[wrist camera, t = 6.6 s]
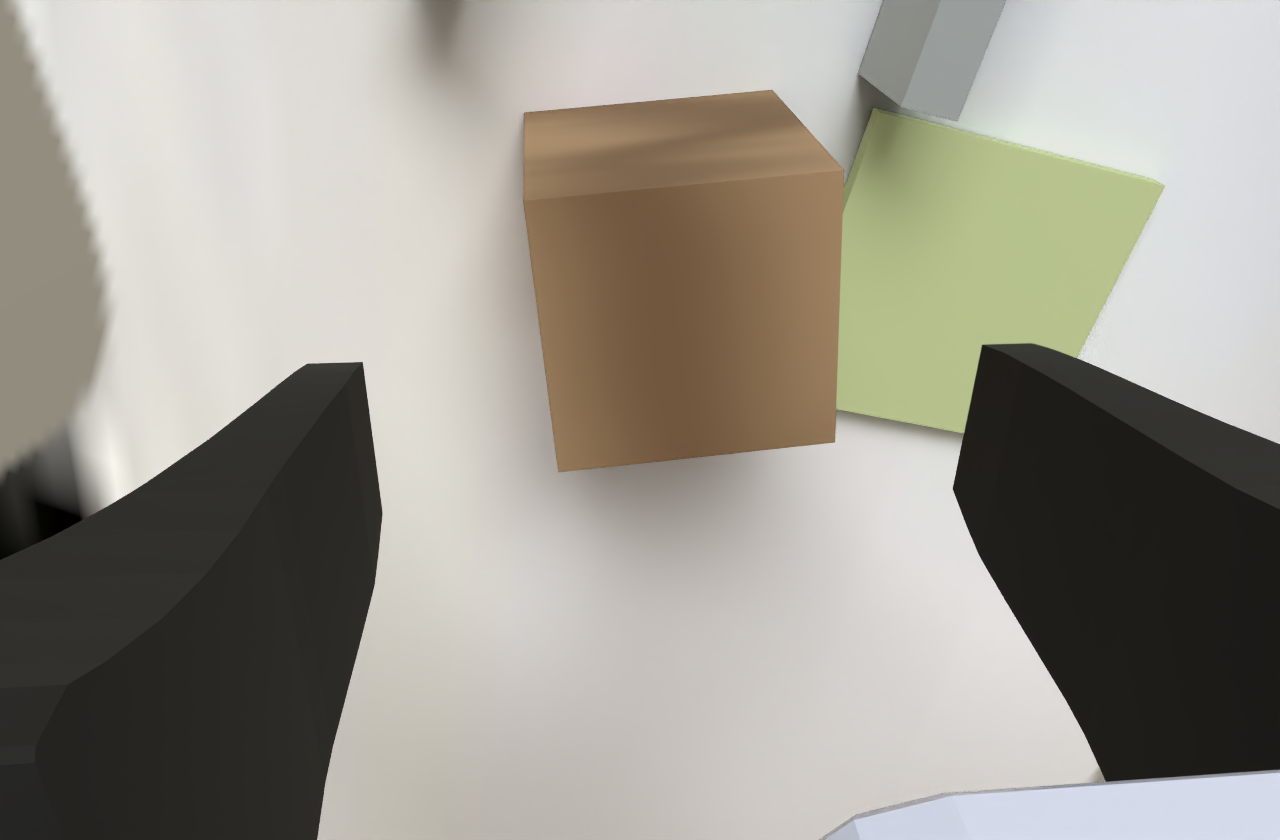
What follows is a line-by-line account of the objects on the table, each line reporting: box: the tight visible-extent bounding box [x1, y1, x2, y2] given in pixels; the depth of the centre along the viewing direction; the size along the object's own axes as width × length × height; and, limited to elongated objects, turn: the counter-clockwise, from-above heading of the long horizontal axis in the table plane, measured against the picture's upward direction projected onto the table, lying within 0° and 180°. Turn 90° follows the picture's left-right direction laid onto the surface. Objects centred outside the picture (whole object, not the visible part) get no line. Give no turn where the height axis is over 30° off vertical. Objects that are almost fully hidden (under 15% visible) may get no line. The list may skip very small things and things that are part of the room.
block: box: [523, 90, 844, 472], centre depth 18 cm, size 4×4×5 cm
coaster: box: [836, 107, 1165, 433], centre depth 21 cm, size 6×6×1 cm
